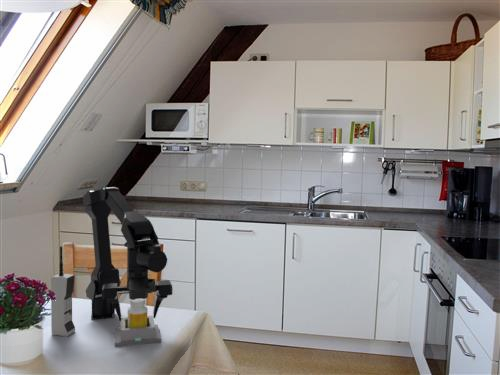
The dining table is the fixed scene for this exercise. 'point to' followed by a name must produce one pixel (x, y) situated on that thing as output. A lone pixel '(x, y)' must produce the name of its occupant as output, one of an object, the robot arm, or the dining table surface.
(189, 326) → the dining table surface
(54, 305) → the vintage mobile phone
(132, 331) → the charging dock
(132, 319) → the supplement bottle
